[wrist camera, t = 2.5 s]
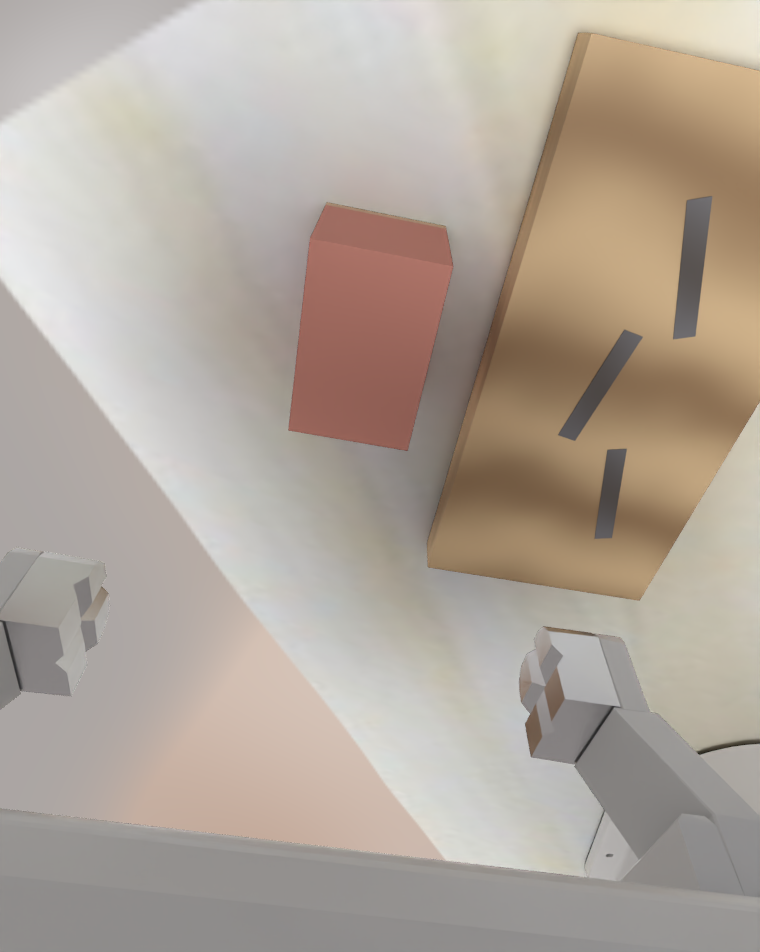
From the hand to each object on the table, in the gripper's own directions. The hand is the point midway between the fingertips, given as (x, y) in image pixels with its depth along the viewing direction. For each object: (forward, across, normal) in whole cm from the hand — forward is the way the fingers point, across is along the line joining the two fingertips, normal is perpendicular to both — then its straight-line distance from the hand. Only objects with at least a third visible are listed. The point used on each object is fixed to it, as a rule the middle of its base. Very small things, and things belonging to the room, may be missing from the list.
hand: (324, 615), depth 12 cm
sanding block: (+17, 0, 0) cm, 17 cm away
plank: (+16, -11, +1) cm, 20 cm away
